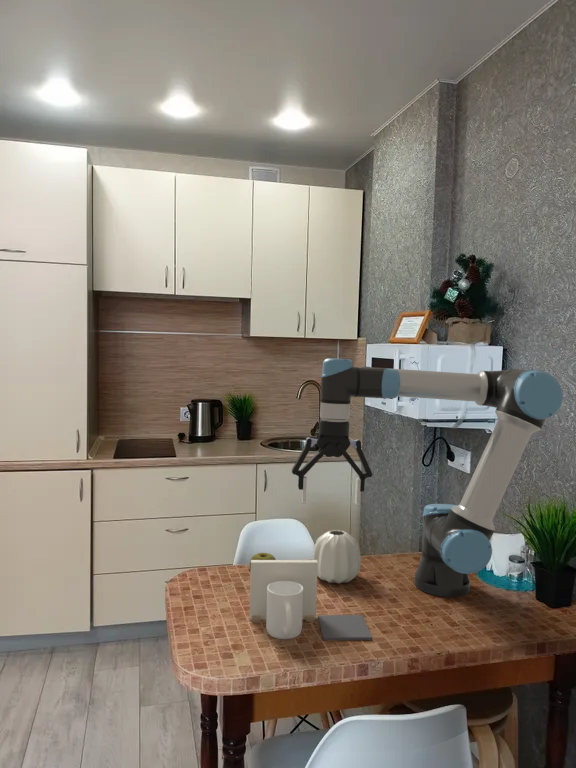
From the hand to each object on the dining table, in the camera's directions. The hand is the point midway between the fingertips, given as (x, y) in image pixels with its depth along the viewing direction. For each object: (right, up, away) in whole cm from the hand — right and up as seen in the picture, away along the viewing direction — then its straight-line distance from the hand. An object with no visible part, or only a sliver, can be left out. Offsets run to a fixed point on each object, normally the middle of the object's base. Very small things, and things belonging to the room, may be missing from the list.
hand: (330, 503), depth 144 cm
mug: (-11, -27, -15) cm, 33 cm away
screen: (-12, -27, -6) cm, 30 cm away
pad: (+2, -27, -11) cm, 29 cm away
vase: (+3, -26, +20) cm, 33 cm away
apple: (-18, -25, +17) cm, 35 cm away
